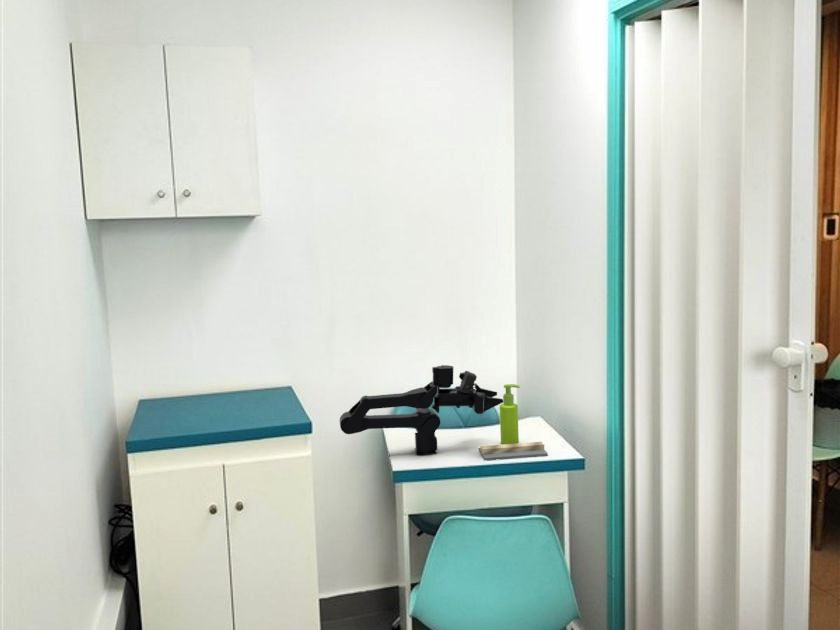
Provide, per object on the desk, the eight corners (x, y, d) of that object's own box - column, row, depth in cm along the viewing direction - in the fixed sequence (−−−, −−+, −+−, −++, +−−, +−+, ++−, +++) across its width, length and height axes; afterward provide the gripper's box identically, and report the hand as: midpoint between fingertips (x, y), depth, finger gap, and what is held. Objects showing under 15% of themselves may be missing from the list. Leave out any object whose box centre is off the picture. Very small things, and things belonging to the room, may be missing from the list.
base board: (484, 460, 235) (484, 458, 235) (478, 450, 246) (478, 447, 246) (547, 455, 237) (547, 453, 237) (538, 445, 248) (538, 443, 248)
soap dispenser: (521, 446, 248) (519, 386, 246) (500, 446, 249) (498, 386, 247) (522, 441, 254) (520, 382, 251) (501, 441, 255) (499, 382, 253)
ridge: (482, 454, 239) (482, 449, 238) (480, 451, 242) (480, 446, 242) (544, 449, 241) (544, 444, 240) (541, 446, 244) (541, 441, 244)
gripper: (458, 379, 235) (507, 379, 237) (449, 367, 254) (494, 367, 255) (457, 414, 237) (506, 414, 239) (448, 399, 255) (493, 399, 257)
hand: (499, 397), depth 247 cm, fingers open, 9 cm apart
